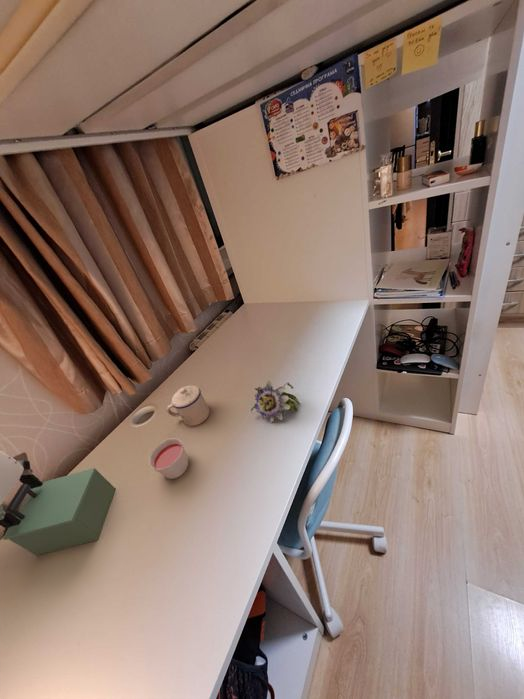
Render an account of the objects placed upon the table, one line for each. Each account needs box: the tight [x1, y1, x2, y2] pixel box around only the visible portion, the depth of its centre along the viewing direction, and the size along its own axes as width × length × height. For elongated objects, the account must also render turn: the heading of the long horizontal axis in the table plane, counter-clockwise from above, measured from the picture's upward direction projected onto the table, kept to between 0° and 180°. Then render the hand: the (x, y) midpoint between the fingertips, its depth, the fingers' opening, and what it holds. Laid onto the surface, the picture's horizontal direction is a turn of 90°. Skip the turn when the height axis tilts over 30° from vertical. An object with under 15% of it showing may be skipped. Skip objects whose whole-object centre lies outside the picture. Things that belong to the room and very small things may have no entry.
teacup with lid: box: [166, 384, 211, 427], centre depth 88 cm, size 12×9×12 cm
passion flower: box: [250, 380, 301, 424], centre depth 82 cm, size 11×11×12 cm
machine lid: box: [1, 467, 97, 541], centre depth 66 cm, size 16×13×5 cm
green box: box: [8, 469, 116, 556], centre depth 70 cm, size 16×13×9 cm
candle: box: [148, 437, 189, 480], centre depth 75 cm, size 9×9×6 cm
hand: (26, 504), depth 67 cm, fingers open, 8 cm apart
